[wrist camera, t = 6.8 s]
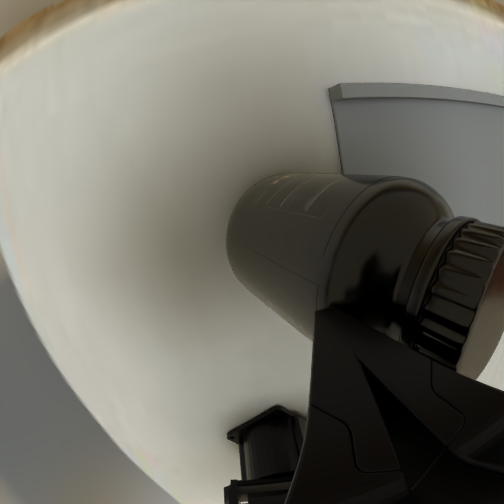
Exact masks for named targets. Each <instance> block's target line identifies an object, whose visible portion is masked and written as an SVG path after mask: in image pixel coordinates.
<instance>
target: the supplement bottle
mask: <svg viewBox="0 0 504 504" xmlns="http://www.w3.org/2000/svg"><path fill="white" fill-rule="evenodd" d="M226 249H227V255H228V259H229V263H230V265H231V268H232V270H233V272H234V274H235V275H236V277H237V278H238V280H239V281H240V282H241V283H242V284H243V285H244V286H245V287H246V288H247V289H248V290H249V291H250V292H252V293H253V294H254V295H255V296H256V297H257V298H259V299H260V300H261V301H262V302H263V303H265V304H266V305H267V306H268V307H270V308H271V309H272V310H273V311H275V312H276V313H277V314H278V315H279V316H281V317H282V318H283V319H284V320H286V321H287V322H288V323H289V324H291V325H292V326H293V327H294V328H296V329H297V330H298V331H299V332H301V333H302V334H303V335H305V336H306V337H307V338H308V339H310V340H311V341H312V342H313V328H314V312H315V311H316V310H320V309H324V308H327V307H331V306H332V307H335V308H337V309H339V310H341V311H343V312H344V313H346V314H348V315H350V316H352V317H354V318H355V319H357V320H359V321H361V322H363V323H365V324H367V325H368V326H370V327H372V328H374V329H376V330H378V331H379V332H381V333H383V334H385V335H387V336H389V337H391V338H393V339H394V340H396V341H398V342H400V343H402V344H404V345H406V346H407V347H409V348H411V349H413V350H415V351H417V352H419V353H421V354H422V355H424V356H426V357H428V358H430V359H431V361H433V360H434V361H436V362H438V363H440V364H441V365H443V366H445V367H447V368H449V369H451V370H453V371H455V372H457V373H460V374H462V375H464V376H466V377H469V378H471V379H473V380H477V378H478V377H479V375H480V374H481V373H482V371H483V370H484V368H485V367H486V365H487V363H488V362H489V360H490V358H491V357H492V355H493V353H494V351H495V349H496V347H497V345H498V343H499V341H500V339H501V336H502V334H503V332H504V227H502V226H498V225H493V224H489V223H484V222H481V221H480V220H478V219H476V218H472V217H467V216H458V217H455V216H454V214H453V212H452V210H451V208H450V206H449V205H448V203H447V202H446V200H445V199H444V198H443V197H442V196H441V195H440V194H439V193H438V192H437V191H436V190H435V189H434V188H432V187H431V186H430V185H428V184H426V183H425V182H422V181H420V180H418V179H414V178H409V177H401V176H386V175H363V174H282V175H276V176H272V177H269V178H266V179H264V180H262V181H260V182H258V183H257V184H255V185H254V186H253V187H251V188H250V189H249V190H248V191H247V192H246V193H245V194H244V195H243V196H242V198H241V199H240V200H239V202H238V203H237V205H236V206H235V208H234V210H233V212H232V215H231V217H230V220H229V223H228V228H227V234H226Z"/></svg>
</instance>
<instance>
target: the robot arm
mask: <svg viewBox="0 0 504 504" xmlns="http://www.w3.org/2000/svg"><path fill="white" fill-rule="evenodd" d="M227 439H228V440H231V441H233V442H235V443H237V444H239V453H240V466H241V478H242V480H231V485H229V486H227V487H224V502H225V504H241V502H247V501H248V503H246V504H504V391H502V390H499V389H497V388H494V387H491V386H489V385H486V384H483V383H481V382H478V381H476V380H473V379H471V378H469V377H466V376H464V375H462V374H460V373H457V372H455V371H453V370H451V369H449V368H447V367H445V366H443V365H441V364H440V363H438V362H436V361H434V360H433V361H431V359H430V358H428V357H426V356H424V355H422V354H421V353H419V352H417V351H415V350H413V349H411V348H409V347H407V346H406V345H404V344H402V343H400V342H398V341H396V340H394V339H393V338H391V337H389V336H387V335H385V334H383V333H381V332H379V331H378V330H376V329H374V328H372V327H370V326H368V325H367V324H365V323H363V322H361V321H359V320H357V319H355V318H354V317H352V316H350V315H348V314H346V313H344V312H343V311H341V310H339V309H337V308H335V307H332V306H331V307H327V308H324V309H320V310H316V311H315V312H314V328H313V348H312V365H311V380H310V393H309V407H308V414H307V421H306V420H304V419H303V418H301V417H299V416H296V415H294V414H293V413H291V412H289V411H287V410H286V409H284V408H282V407H280V406H276V407H273V408H272V409H270V410H268V411H267V412H265V413H263V414H261V415H260V416H258V417H256V418H254V419H253V420H251V421H249V422H247V423H246V424H244V425H242V426H240V427H238V428H236V429H234V430H233V431H231V432H229V433H227Z"/></svg>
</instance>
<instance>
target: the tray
mask: <svg viewBox="0 0 504 504" xmlns="http://www.w3.org/2000/svg"><path fill="white" fill-rule="evenodd" d="M329 93H330V98H331V103H332V109H333V115H334V120H335V126H336V132H337V139H338V145H339V152H340V160H341V167H342V174H363V175H386V176H401V177H409V178H414V179H418V180H420V181H422V182H425V183H426V184H428V185H430V186H431V187H432V188H434V189H435V190H436V191H437V192H438V193H439V194H440V195H441V196H442V197H443V198H444V199H445V200H446V202H447V203H448V205H449V206H450V208H451V210H452V212H453V214H454V216H455V217H458V216H467V217H472V218H476V219H478V220H480V221H481V222H484V223H489V224H493V225H498V226H502V227H504V96H500V95H495V94H490V93H485V92H479V91H473V90H466V89H459V88H451V87H443V86H432V85H420V84H402V83H341V84H338V85H336V86H333V87H331V88H329Z"/></svg>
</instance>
